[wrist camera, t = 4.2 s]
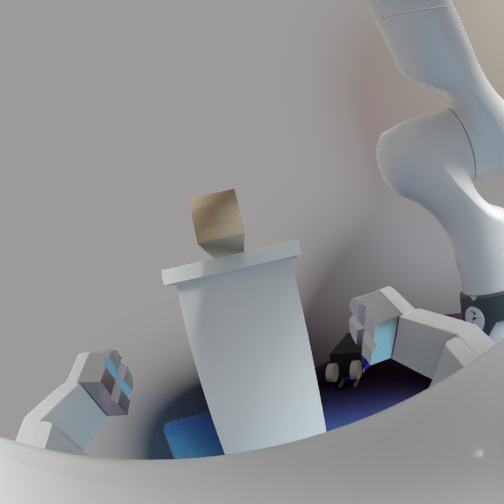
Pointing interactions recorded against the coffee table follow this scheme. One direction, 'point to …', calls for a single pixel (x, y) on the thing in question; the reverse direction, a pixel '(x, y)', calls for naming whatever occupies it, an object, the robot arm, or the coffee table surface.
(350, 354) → the figurine character
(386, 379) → the coffee table surface
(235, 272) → the pedestal
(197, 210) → the beech bar
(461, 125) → the robot arm
